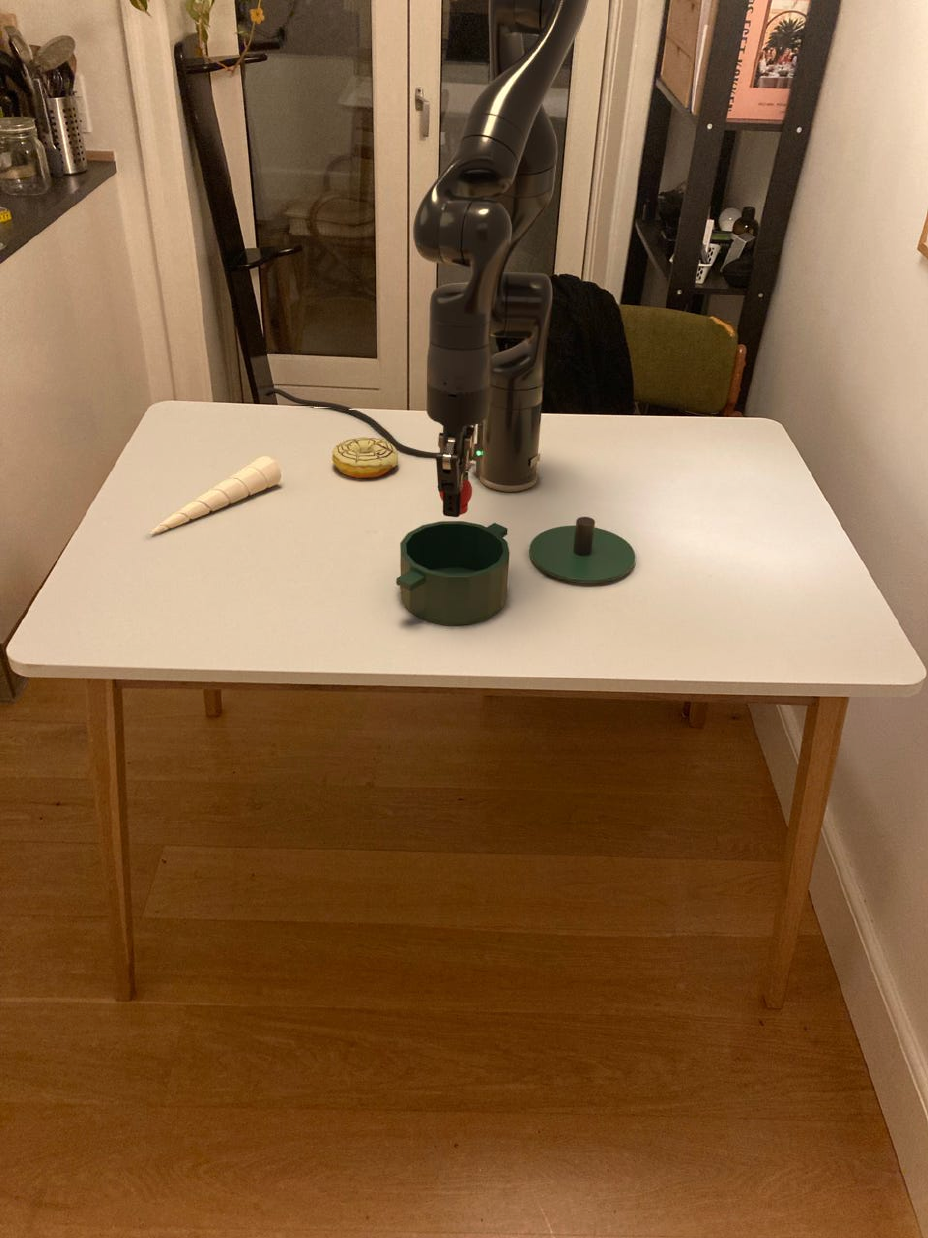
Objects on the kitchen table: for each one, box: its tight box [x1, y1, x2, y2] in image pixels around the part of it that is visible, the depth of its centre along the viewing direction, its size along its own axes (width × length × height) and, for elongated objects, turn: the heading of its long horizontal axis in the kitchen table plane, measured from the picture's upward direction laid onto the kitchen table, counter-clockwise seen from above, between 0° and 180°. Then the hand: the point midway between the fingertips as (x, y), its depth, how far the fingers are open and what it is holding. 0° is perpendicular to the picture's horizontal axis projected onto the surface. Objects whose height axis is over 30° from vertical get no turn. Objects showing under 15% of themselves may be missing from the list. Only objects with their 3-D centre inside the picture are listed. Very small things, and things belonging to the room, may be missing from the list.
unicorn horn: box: [149, 455, 282, 535], centre depth 150 cm, size 5×24×5 cm, turn 137°
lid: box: [528, 516, 636, 584], centre depth 140 cm, size 15×15×6 cm
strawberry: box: [438, 473, 473, 516], centre depth 124 cm, size 4×4×6 cm
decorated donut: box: [331, 436, 399, 479], centre depth 163 cm, size 10×11×4 cm
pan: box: [396, 520, 510, 626], centre depth 131 cm, size 14×20×8 cm
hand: (455, 506), depth 125 cm, fingers closed on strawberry, 4 cm apart
